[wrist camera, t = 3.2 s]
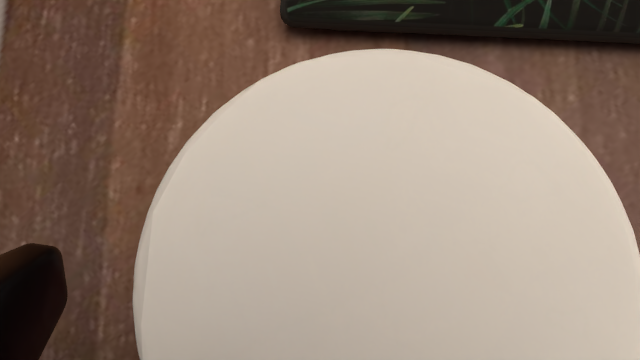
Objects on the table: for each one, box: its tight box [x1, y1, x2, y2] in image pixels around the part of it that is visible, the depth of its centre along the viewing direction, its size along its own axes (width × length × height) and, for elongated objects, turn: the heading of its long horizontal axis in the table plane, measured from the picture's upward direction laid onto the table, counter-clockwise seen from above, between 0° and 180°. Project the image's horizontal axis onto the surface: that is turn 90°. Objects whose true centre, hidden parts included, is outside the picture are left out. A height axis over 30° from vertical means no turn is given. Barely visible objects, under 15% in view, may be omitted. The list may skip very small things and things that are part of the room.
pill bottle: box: [133, 49, 640, 360], centre depth 11 cm, size 6×6×11 cm
